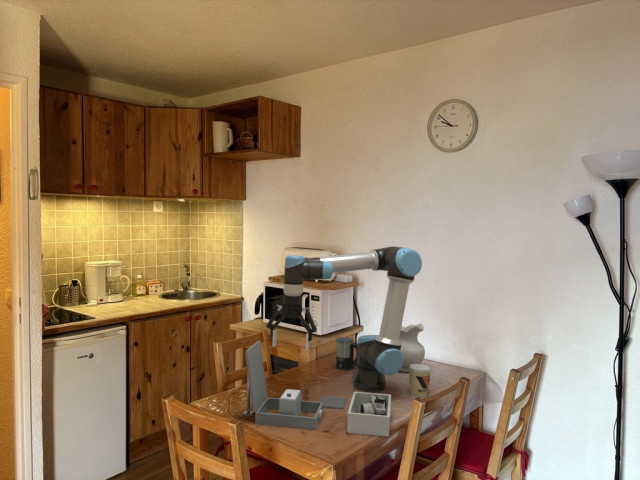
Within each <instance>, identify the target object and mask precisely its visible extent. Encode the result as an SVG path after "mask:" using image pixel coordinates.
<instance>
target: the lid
mask: <svg viewBox="0 0 640 480" xmlns="http://www.w3.org/2000/svg"><path fill="white" fill-rule="evenodd" d="M261 345H262V344H261V340H257V342H255V343H253V345H251V346H250V347H248V349H246V350H245V353H244V354H245V355H244V356H245V363H246V371H247V372H248V380H249V388H250V404H251V408H252V411H253V412H254V413H256V411H257V410H258V409H259V408H260V406H261V405H262V404H263V402H264V401H265V400H266V399H267V397H268V392H267V383H266V376H265V369H264V368H265V367H264V359H263V352H262V346H261Z"/></svg>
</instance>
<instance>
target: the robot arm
mask: <svg viewBox="0 0 640 480" xmlns="http://www.w3.org/2000/svg"><path fill="white" fill-rule="evenodd" d="M418 252H419V251H418ZM418 252H417V250H415V249H412V248H409V247H405V246H403V247H401V246H396V245H395V246H387V247H382V248H377V249H376V248H375V249H369V251H367V252H360V253H359V252H358V253H357V252H356V253H348V254H337V255H328V256H318V257H304V255H297V254H290V255H286V257H285V259H284V267H283V268H284V276H283V277H284V279H283V295H282V296H283V297H282V298H283V299H282V305H280V304H276V305H275V306H274V311H273V313H272V315H271V316H270V319H269V321H268V322H267V323H266V328H267V329H269V330H270V338H271V339H272V347H273V348H274V347H276V346H277V336H278V333H277V332H278V329H277V326H279V324H280V323H281V322H282V321H283V320H284V319H286V318H287V319H297V320H298V321H300V323H301V325H302V326H303V328H304V329H305V331H307V332H306V335H305V351H308V350H309V349H310V342H312V340H313V333H316V332H317V331H318V329H317V325H316V323H315V321H314V319H313V317H312V314H311V309H310V307H309V306H308V307H303V295H302V294H303V290H304V288H303V287H304V280H323V281H324V280H330V279H331V278H332V277H333V274H337V273H344V272H354V271H362V270H364V271H365V270H372V271H374V272H375V271H376V272H377V271H383V272H387V273H386V277H387V279H388V280H389V282H388V287H387V292H386V297H385V302H384V307H383V313H382V318H381V322H380V323H381V324H380V327H379V334H378V335H377V334H365V335H360V336H359V337H358V338H357V342H356V343H357V345H358V350H357V351H356V352H357V365H356V371H355V373H354V376H353V379H352V386H353V388H355V389H358V390H360V391H365V392H380V391H383V390H385V389H386V388H387V380H386V376H392V375H395V374H396V373H398V372H400V371H399V370H400V369H401V367H402V365H403V362H404V358H403V355H402V353H401V352H400V351H401V345H402V344H401V342H400V341H399V336H400V331H401V326H403V320H404V316H405V309H406V305H407V301H408V300H407V299H408V295H409V294H408V293H409V289H410V288H409V287H410V284H412V283H413V282H415V276H417V275H418V274H419V273H420V272H421V270H422V267H423V260H422V258H421V255H420V254H419V253H418ZM280 311H282V312H283V313H282V314H281V316H280V317H279V318H278V319H277V320H276V317H277V315H278V314H279V312H280ZM302 313H304V315H305V316H306V318H307V320H306V319H305V318H304V316H303V315H302ZM274 320H276V321H274ZM307 321H308V322H307ZM308 323H309V324H308ZM385 375H386V376H385Z"/></svg>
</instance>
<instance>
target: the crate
mask: <svg viewBox="0 0 640 480" xmlns="http://www.w3.org/2000/svg"><path fill="white" fill-rule="evenodd" d="M373 395H377V396H382V397H383V398H384V399H386V402H387V405H386V409H385V410H386V412H385V414H387V416H383V415H372V414H361V412H356V411H361V404H366V403H370V396H373ZM391 403H392V394H387V393H375V392H373V393H372V392H362V391H353V395H352V398H351V402H350V404H349V408H348V411H347V430H346V431H347V434H348V433H349V434H356V435H358V434H359V435H367V436H377V437H387V438H388V437H390V428H391V427H390V425H391V411H392V409H391V408H392V407H391V406H392V404H391Z"/></svg>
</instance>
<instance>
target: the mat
mask: <svg viewBox="0 0 640 480" xmlns="http://www.w3.org/2000/svg"><path fill="white" fill-rule="evenodd" d="M346 401H347V397H344V396H343V397H342V396H333V395H332V396H330V395H319V398H318V400H317V402H323V409H324V408H325V409H326V408H327V409H335V410H336V409H337V410H344V406H345V404H346Z"/></svg>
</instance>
